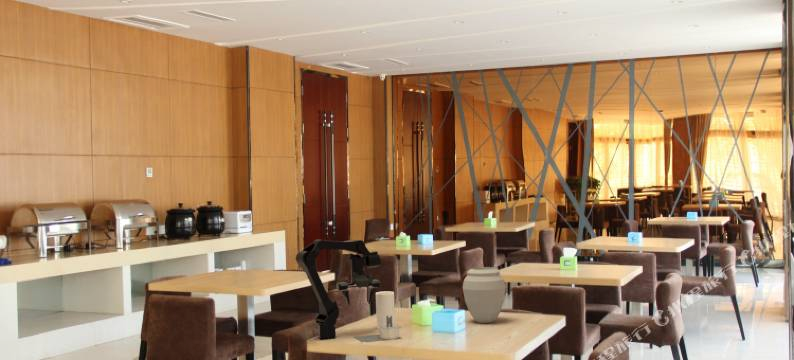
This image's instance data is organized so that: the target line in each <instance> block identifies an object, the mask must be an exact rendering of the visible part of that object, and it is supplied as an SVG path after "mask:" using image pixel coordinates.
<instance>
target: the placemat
mask: <svg viewBox="0 0 794 360" xmlns="http://www.w3.org/2000/svg"><path fill="white" fill-rule="evenodd" d="M353 338H354V339H356V340H357V341H359V342H361V343H363V342H366V343H372V342H374V343H375V342H383V341H386V340H385V339H381V337H380V333H378V334H370V335H360V336H359V335H358V336H353ZM392 340H393V341H394V340H395V339H392ZM392 340H391V341H392ZM397 340H402V337H400V336H399V338H398V339H397Z"/></svg>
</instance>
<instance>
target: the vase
mask: <svg viewBox="0 0 794 360" xmlns="http://www.w3.org/2000/svg"><path fill="white" fill-rule="evenodd" d="M500 271H501V270H499V269H497V268H496V267H494V266H493V267H491V266H481V267H480V266H478V267H477V266H476V267H471V269H469V270H468V271H467V272H466V273H467V276H465V278H464V280H463V283H462V291H463V296H464V297H463V298H464V302H465V305H466V306H467V307H466V308H467V309H468V312H469V313H470V316H471V317H472V319H474V321H475V322H476V323H479V324H490V323H492V324H493V322H495V321H496V320H497V319H498V317H499V315H500V313H501V312H502V309H503V305H504V301H505V297H506V289H507V287H506V283H505V279H504V277H503V276H502V275H501V273H500Z"/></svg>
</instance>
